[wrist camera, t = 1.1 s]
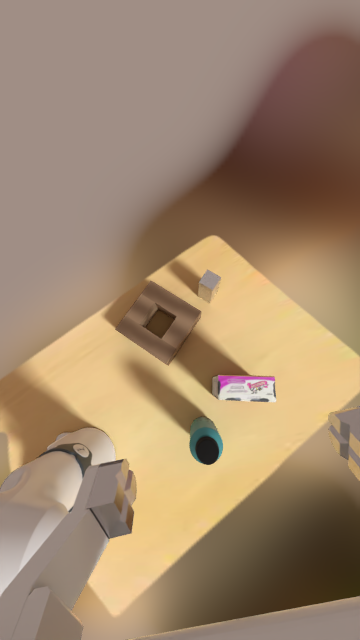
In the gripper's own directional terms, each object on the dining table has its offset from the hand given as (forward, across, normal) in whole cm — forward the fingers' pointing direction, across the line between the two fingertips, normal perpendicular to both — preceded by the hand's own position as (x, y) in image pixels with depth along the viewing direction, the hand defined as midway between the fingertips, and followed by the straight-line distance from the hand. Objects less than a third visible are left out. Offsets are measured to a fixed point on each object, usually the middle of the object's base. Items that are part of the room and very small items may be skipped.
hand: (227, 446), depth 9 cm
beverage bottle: (+37, -4, -39) cm, 54 cm away
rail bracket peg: (+58, +6, -11) cm, 59 cm away
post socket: (+54, -9, -16) cm, 56 cm away
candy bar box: (+42, +6, -32) cm, 54 cm away
